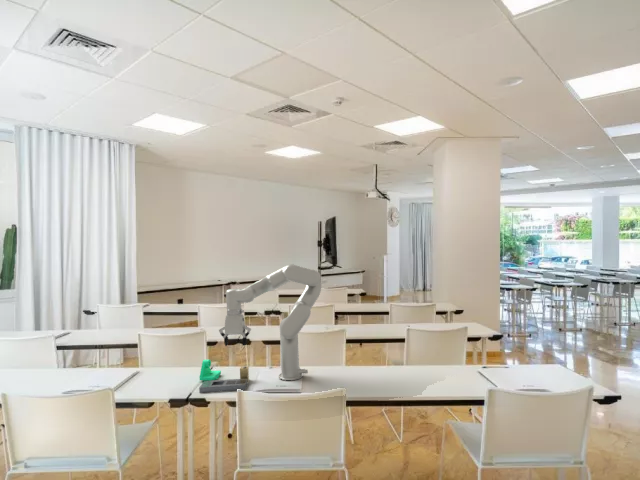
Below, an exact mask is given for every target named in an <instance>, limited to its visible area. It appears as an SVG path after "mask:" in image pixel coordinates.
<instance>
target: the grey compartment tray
mask: <svg viewBox="0 0 640 480" xmlns="http://www.w3.org/2000/svg"><path fill="white" fill-rule="evenodd" d="M248 383H249V381H248V379H247V378H246V379H240V378H232V379H229V378H228V379H217V380H203V381H202V383H201V384H200V386H199V390H198V391H199V392H198V393H199V394H202V393H203V394H205V393H220V392H232V391H233V392H234V391H236V390H237V389H241V390H240V391H246V389H247V386H248Z"/></svg>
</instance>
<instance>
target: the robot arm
mask: <svg viewBox="0 0 640 480" xmlns="http://www.w3.org/2000/svg"><path fill="white" fill-rule="evenodd" d="M321 277H322V276H321V274H320V272H319V271H317V270H315V269H311V268H307V267H303V266H300V265H299V266H298V265H296V264H294V263H289V264H287V265H285V266H283V267H281V268H279V269H278V270H276V271H273V272H272V273H269V274H268V275H265V277H263V278H262V279H260V280H257V281H255V282H254V283H252V284H250V285H248V286H246V287H245V288H243V289H238V288H231V289H227V290H226V293H225V297H226V301H225V302H226V315H225V319H224V326H223V327H222V328H219V329H218V332H219V333H220V336H222V338H223V342H224V346H225V347H227V346H228V345H229V337H228V336H229V335H231V336H232V335H235V336H237V335H241V336H242V346H244V347H245V345H246V344H247V342H248V339H247V337H248V336H249V335H250V333H251V331H252V328H251V327H249V326H246V322H245V316H244V314H243V313H245V309H244V310H243V309H242V303H245V304H246V303H251V302H253V301H254V300H255V299H256V298H257V297H260V296H261V295H264V294H266V293H268V292H271V291H274V290H276V289H279V288H280V287H282V286H284V285H286V284H288V283H290V282H295V283H296V284H302V285H305V288H304V291H303V292H302V293H301V294H300V296H299V298H298V299H297V300H296V302H295V303H294V304H293V305H292V308H291V312H290V313H289V314H288V316H287V317H284V318H282V320H281V321H280V323H279V339H280V340H279V341H280V365H281V367H280V368H281V369H280V370H281V372H280V374H279V375H278V379H279V380H281V379H282V380H281V381H286V380H291V381H296V380H300V379H302V377H303V374H308V373H309V372H308V371H309V370H308V369H305V368H301V366H300V358H299V356H300V355H299V353H300V352H299V333H300V332H301V330H302V329H303V327H304V326H305V325H306V323H307V322H308V320H309V318H310V317H311V309H312V308H313V306H314V305H315V303H316V302H317V300H318V299H319V297H320V295H321V292H322V283H321V282H322V281H321V279H322V278H321ZM246 331H247V332H246Z"/></svg>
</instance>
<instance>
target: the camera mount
mask: <svg viewBox="0 0 640 480" xmlns="http://www.w3.org/2000/svg"><path fill="white" fill-rule="evenodd" d="M211 366H212V360H211V359H203V360H202V363H201V367H200V372H199V381H212V380H219V378H220V375H221V374H222V370H212V369H211Z"/></svg>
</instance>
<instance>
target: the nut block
mask: <svg viewBox="0 0 640 480" xmlns="http://www.w3.org/2000/svg"><path fill="white" fill-rule="evenodd" d="M249 372H250V369H249V366H248V365H247V366H240V367H239V376H240V377H239V379H246V378H247V379H248V382H249V380H250V373H249Z"/></svg>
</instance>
